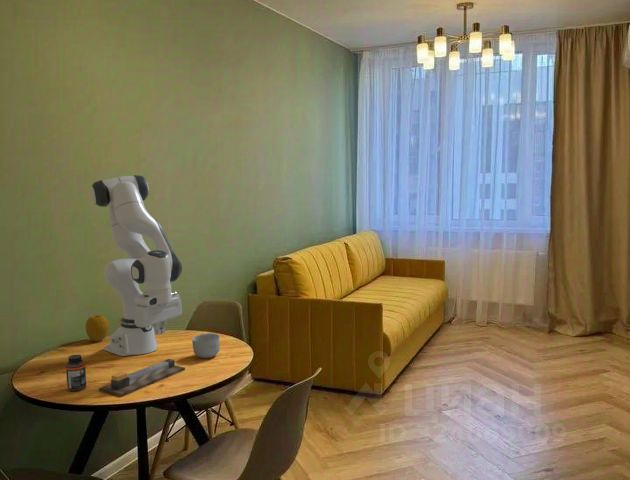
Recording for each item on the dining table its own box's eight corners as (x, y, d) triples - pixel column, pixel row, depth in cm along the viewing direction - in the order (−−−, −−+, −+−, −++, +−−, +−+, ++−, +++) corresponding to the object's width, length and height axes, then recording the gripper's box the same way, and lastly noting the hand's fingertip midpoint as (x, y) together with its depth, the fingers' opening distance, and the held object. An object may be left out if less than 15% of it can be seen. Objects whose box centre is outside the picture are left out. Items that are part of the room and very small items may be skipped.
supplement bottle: (71, 385, 188) (69, 353, 187) (89, 385, 188) (87, 353, 187) (64, 392, 182) (62, 359, 181) (83, 391, 183) (81, 358, 181)
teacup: (214, 361, 212) (213, 340, 211) (188, 359, 214) (187, 339, 214) (227, 350, 226) (226, 331, 225) (202, 349, 228) (201, 330, 227)
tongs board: (121, 396, 177) (121, 385, 177) (99, 391, 183) (98, 379, 182) (184, 369, 202) (184, 359, 202) (163, 365, 208) (162, 355, 207)
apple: (113, 337, 248) (112, 312, 247) (103, 343, 238) (101, 317, 237) (93, 337, 249) (91, 311, 248) (81, 343, 239) (80, 317, 238)
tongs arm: (129, 381, 185) (129, 377, 185) (123, 379, 187) (123, 376, 186) (174, 363, 203) (174, 360, 203) (168, 362, 205) (168, 358, 205)
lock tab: (117, 381, 181) (117, 376, 181) (111, 379, 182) (111, 375, 182) (127, 377, 184) (126, 373, 184) (121, 376, 186) (121, 371, 185)
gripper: (173, 290, 208) (173, 325, 209) (130, 300, 190) (132, 339, 192) (185, 291, 205) (186, 327, 206) (143, 302, 187) (145, 342, 189)
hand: (159, 333), depth 199 cm, fingers closed
